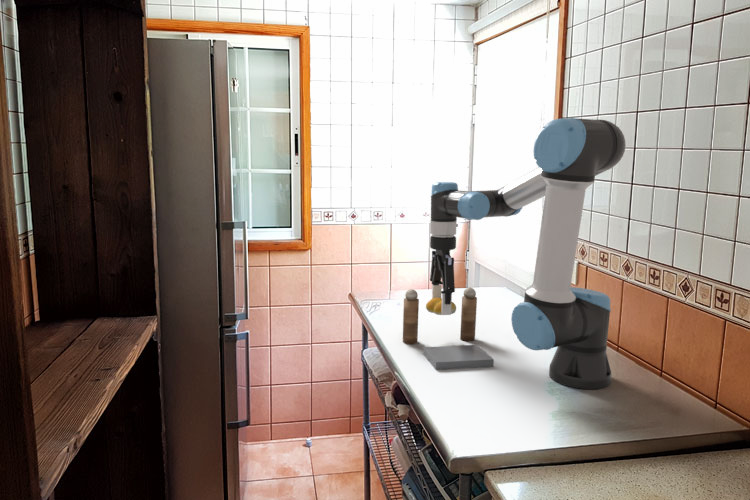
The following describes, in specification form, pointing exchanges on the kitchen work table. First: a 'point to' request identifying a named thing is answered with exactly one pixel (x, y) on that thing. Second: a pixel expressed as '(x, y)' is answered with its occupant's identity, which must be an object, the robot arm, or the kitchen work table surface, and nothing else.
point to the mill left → (410, 317)
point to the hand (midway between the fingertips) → (441, 310)
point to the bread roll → (438, 306)
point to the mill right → (468, 315)
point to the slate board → (457, 357)
